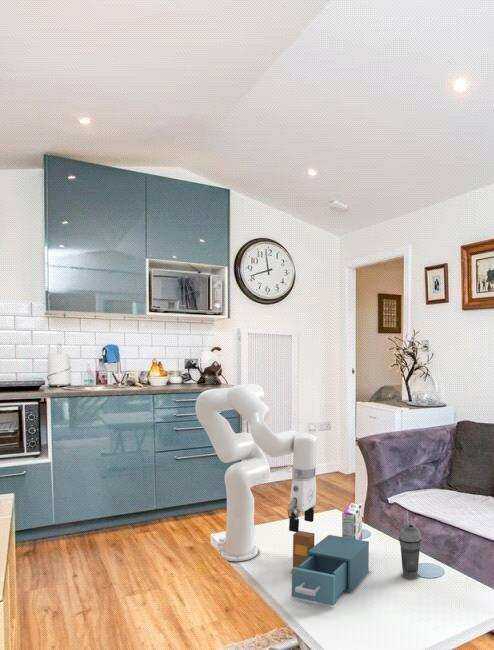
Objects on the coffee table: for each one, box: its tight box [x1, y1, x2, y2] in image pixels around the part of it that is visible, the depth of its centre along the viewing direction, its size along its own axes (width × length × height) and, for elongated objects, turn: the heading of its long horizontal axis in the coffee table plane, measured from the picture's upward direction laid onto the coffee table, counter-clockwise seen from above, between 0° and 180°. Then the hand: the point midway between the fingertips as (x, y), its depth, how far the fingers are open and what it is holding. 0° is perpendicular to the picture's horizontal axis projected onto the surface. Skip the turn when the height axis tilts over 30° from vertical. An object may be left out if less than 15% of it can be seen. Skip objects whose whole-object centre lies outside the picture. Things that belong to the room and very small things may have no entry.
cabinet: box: [308, 534, 370, 594], centre depth 155 cm, size 15×15×10 cm
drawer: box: [291, 555, 348, 607], centre depth 143 cm, size 18×13×8 cm
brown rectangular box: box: [292, 530, 315, 568], centre depth 159 cm, size 4×6×12 cm, turn 68°
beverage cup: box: [398, 510, 422, 580], centre depth 157 cm, size 7×7×20 cm
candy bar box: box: [341, 502, 363, 540], centre depth 171 cm, size 11×5×16 cm, turn 168°
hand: (301, 526), depth 160 cm, fingers open, 9 cm apart
